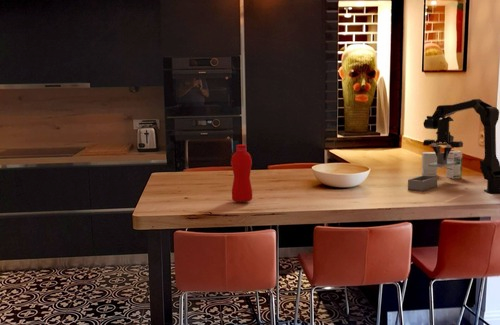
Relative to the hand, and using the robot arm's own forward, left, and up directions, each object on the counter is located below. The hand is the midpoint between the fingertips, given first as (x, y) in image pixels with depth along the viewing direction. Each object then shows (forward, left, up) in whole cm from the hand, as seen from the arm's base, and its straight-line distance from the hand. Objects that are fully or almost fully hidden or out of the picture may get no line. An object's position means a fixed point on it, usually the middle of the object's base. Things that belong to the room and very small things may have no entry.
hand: (442, 160), depth 266 cm
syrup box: (+13, -11, -12) cm, 21 cm away
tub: (-15, +15, -12) cm, 24 cm away
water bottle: (-35, +103, -12) cm, 109 cm away
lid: (0, 0, -3) cm, 3 cm away
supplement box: (+23, -1, -12) cm, 26 cm away
